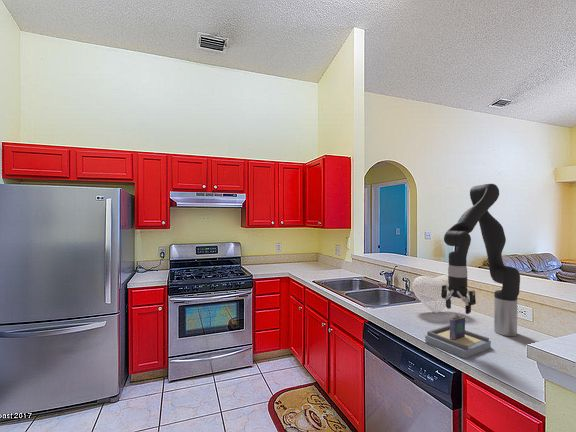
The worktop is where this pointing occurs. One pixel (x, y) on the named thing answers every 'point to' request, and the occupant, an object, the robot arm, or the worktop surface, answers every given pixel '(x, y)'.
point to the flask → (457, 327)
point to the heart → (431, 291)
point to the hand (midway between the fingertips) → (458, 310)
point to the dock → (458, 342)
